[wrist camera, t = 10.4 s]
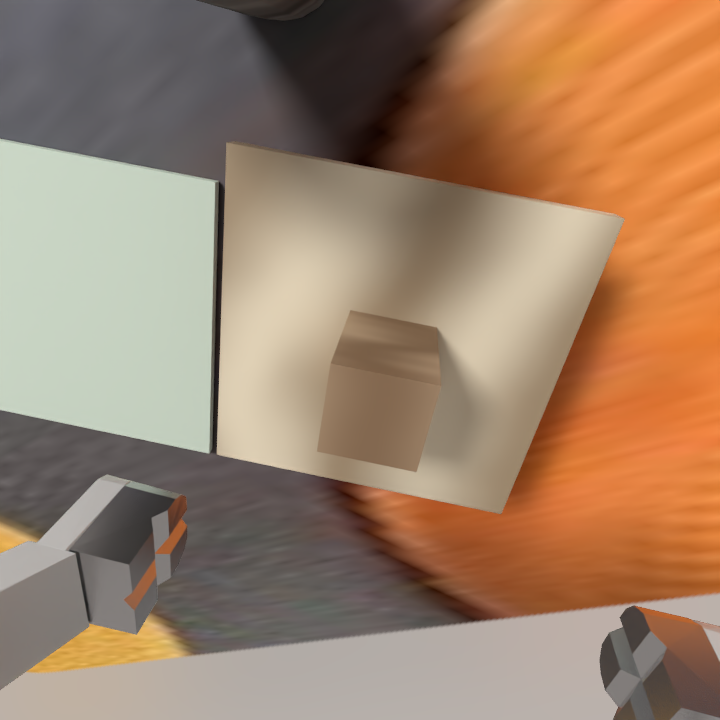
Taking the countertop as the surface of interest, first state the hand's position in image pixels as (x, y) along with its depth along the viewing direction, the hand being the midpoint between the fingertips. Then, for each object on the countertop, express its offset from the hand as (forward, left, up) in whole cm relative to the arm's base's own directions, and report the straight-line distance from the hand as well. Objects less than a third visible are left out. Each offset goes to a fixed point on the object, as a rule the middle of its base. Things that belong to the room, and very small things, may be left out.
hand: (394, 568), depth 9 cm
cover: (+1, 0, -10) cm, 10 cm away
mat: (+15, +3, -14) cm, 21 cm away
